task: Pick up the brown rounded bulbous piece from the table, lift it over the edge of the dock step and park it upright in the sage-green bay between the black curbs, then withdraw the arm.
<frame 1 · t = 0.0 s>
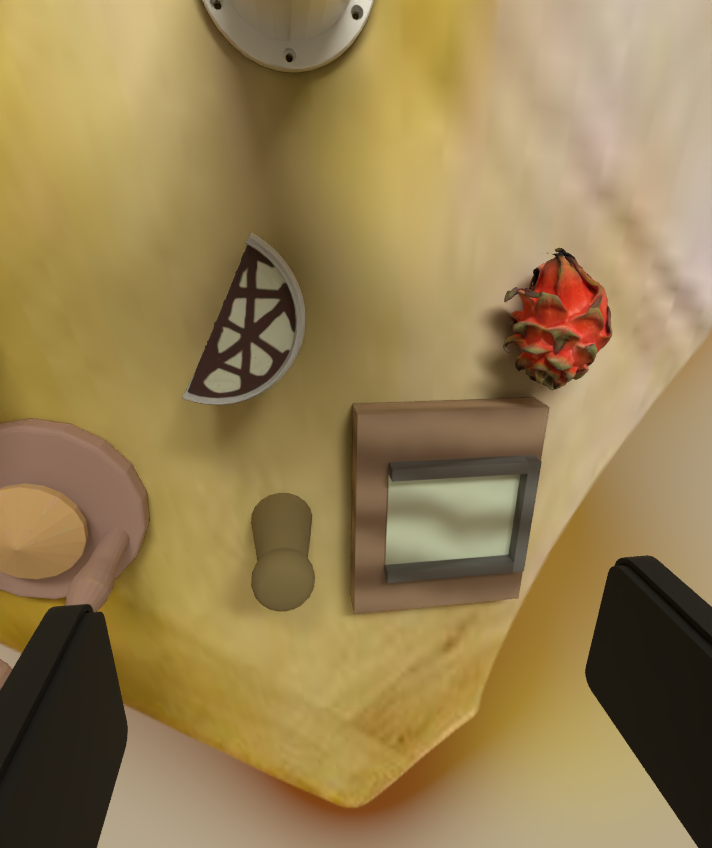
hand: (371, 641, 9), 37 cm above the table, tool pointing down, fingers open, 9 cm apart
food container: (261, 317, 43), on the table
dock: (437, 501, 52), on the table
hourglass: (50, 505, 46), on the table
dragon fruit: (535, 314, 47), on the table
brown rounded bulbous piece: (282, 518, 50), on the table
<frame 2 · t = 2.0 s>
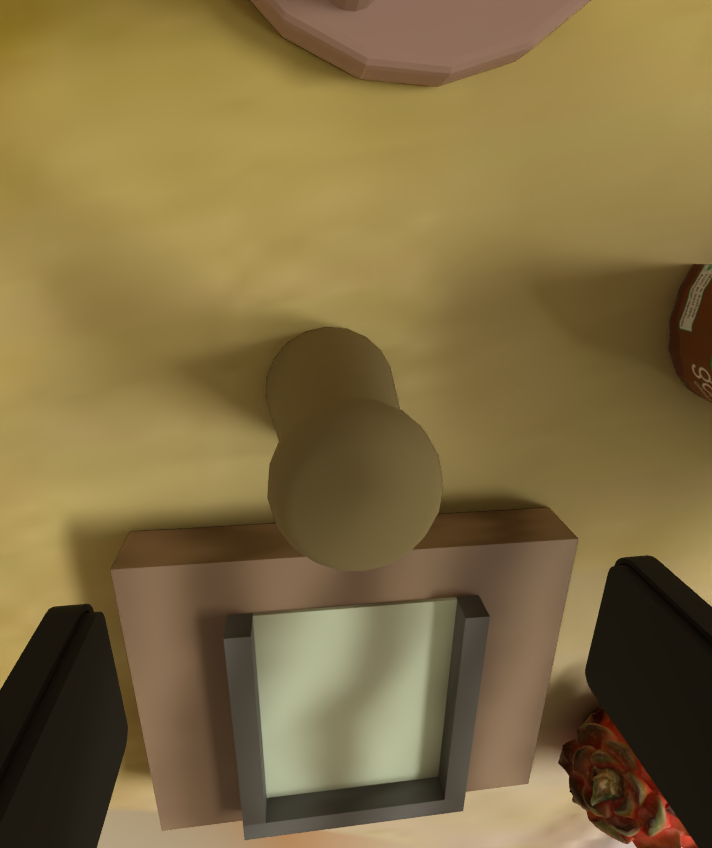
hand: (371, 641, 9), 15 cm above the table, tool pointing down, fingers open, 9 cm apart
dock: (348, 651, 30), on the table
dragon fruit: (618, 712, 35), on the table
brown rounded bulbous piece: (330, 390, 24), on the table
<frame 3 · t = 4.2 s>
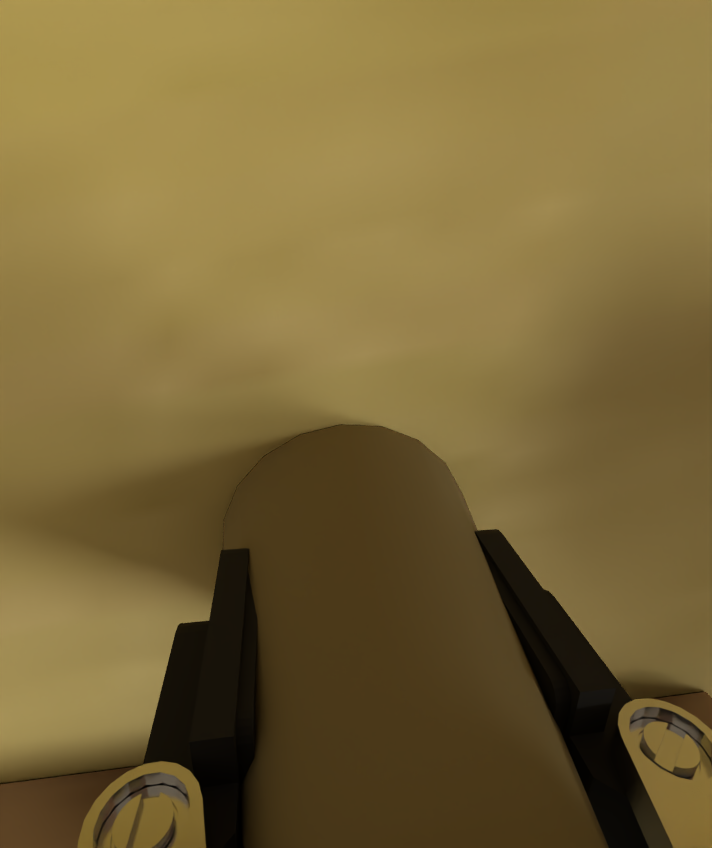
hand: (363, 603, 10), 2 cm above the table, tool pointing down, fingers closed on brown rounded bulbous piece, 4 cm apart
brown rounded bulbous piece: (347, 533, 13), on the table, touching gripper
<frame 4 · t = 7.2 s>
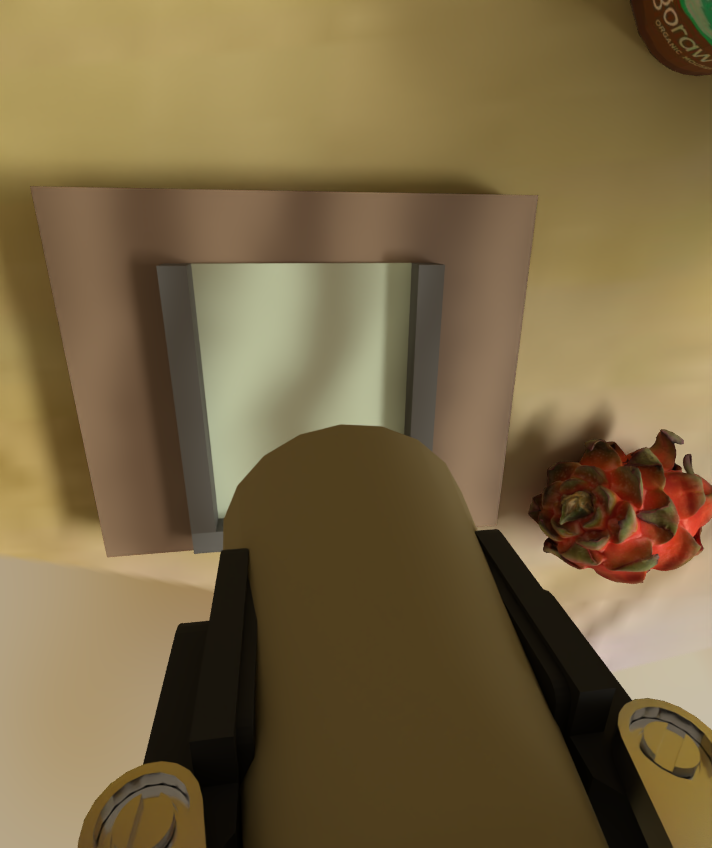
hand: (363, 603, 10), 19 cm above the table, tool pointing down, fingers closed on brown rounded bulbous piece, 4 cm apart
food container: (680, 23, 25), on the table
dock: (304, 372, 28), on the table
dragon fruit: (590, 477, 34), on the table
brown rounded bulbous piece: (346, 533, 13), point 17 cm above the table, touching gripper
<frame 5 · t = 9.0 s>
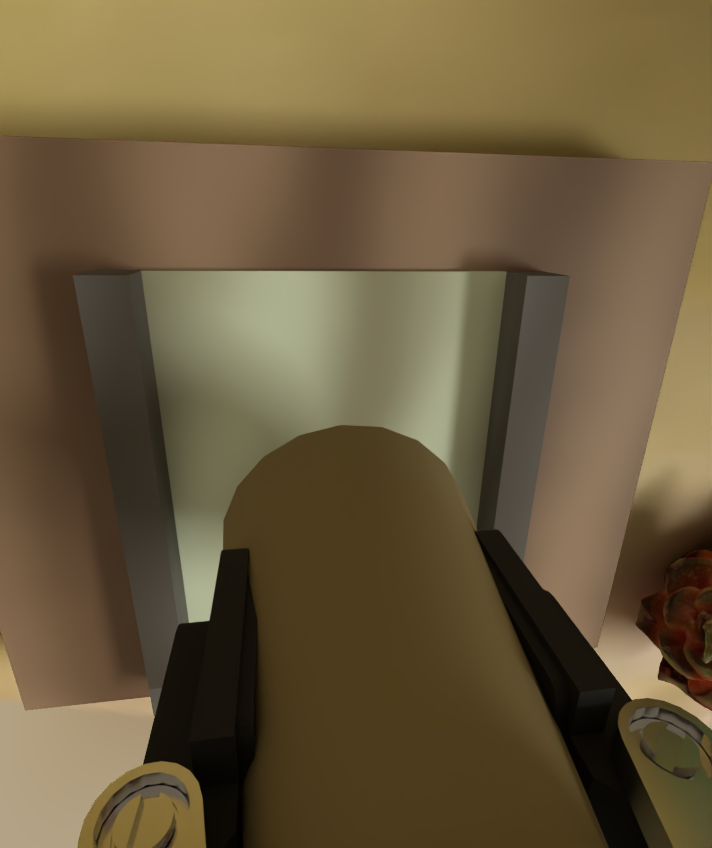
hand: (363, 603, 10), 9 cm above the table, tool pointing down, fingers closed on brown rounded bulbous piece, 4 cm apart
dock: (324, 430, 19), on the table
brown rounded bulbous piece: (346, 534, 13), point 7 cm above the table, touching gripper
when the fingers open (7 cm above the table, at t = 10.3 s): brown rounded bulbous piece drops 1 cm, resting on dock.
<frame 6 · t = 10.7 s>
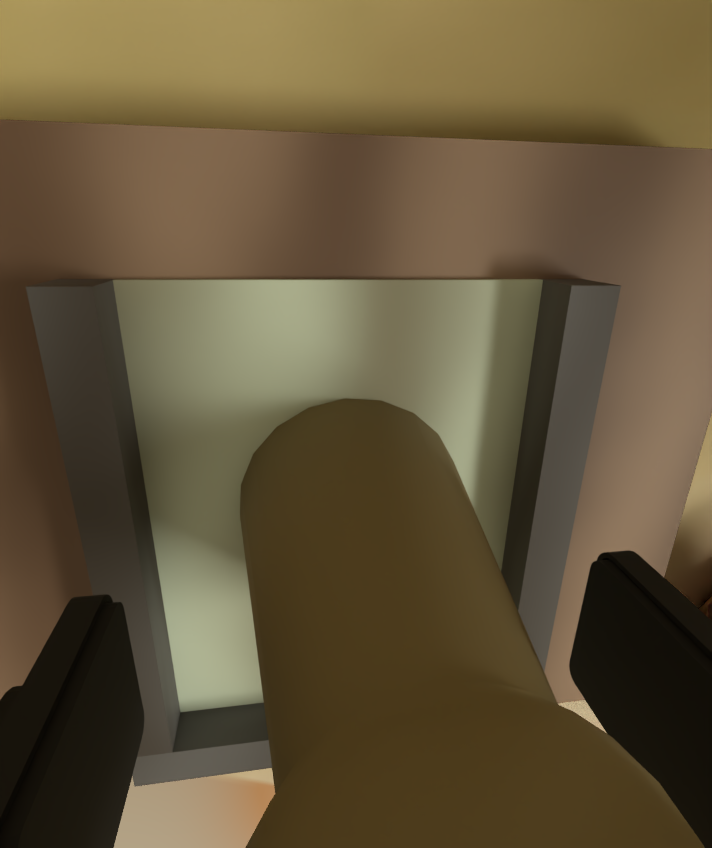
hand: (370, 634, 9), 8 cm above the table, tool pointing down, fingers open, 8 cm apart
dock: (329, 456, 17), on the table
brown rounded bulbous piece: (350, 498, 14), point 3 cm above the table, touching dock
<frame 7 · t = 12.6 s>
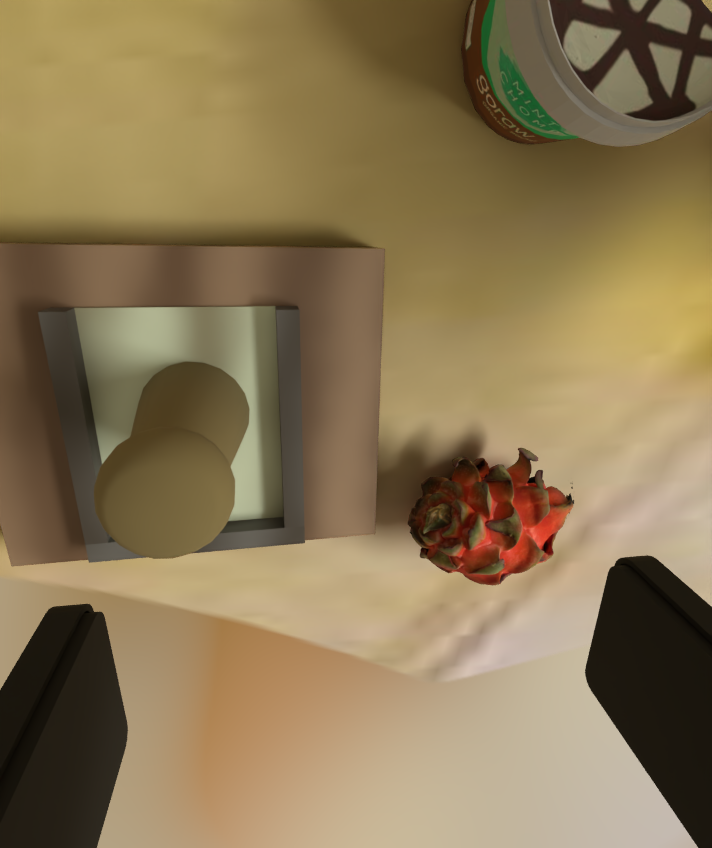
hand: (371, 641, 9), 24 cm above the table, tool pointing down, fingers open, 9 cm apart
food container: (512, 101, 29), on the table
dock: (196, 398, 31), on the table
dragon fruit: (470, 489, 38), on the table
brown rounded bulbous piece: (195, 412, 28), point 3 cm above the table, touching dock
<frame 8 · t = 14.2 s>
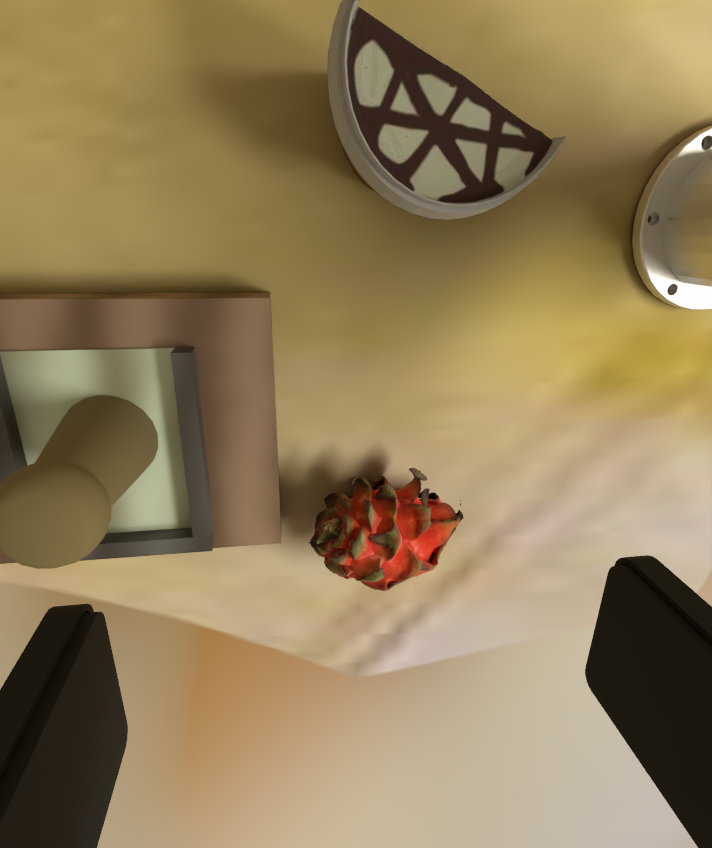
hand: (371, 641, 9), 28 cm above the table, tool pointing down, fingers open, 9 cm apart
food container: (389, 164, 32), on the table
dock: (119, 422, 36), on the table
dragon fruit: (378, 503, 42), on the table
brown rounded bulbous piece: (110, 437, 33), point 3 cm above the table, touching dock
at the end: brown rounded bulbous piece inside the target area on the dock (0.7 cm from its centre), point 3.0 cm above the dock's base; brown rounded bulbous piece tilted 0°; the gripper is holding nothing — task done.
